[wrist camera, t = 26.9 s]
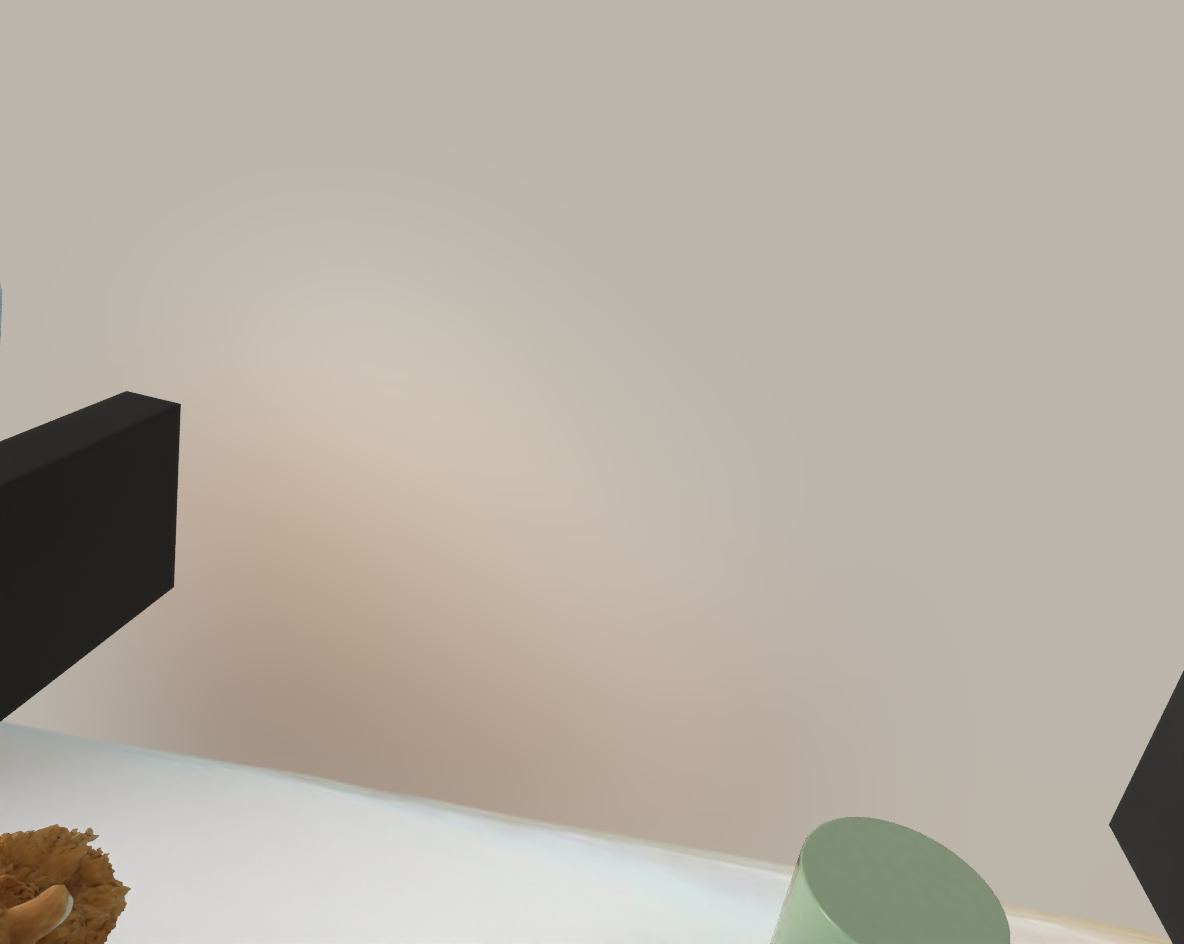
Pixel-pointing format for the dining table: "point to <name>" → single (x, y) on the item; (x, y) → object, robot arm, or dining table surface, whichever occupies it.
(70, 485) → the robot arm
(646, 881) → the dining table surface
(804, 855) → the canister
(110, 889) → the stuffed squirrel
